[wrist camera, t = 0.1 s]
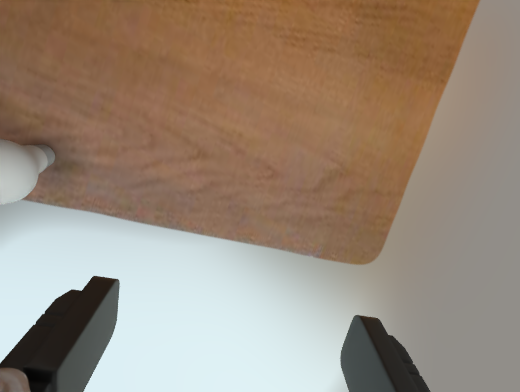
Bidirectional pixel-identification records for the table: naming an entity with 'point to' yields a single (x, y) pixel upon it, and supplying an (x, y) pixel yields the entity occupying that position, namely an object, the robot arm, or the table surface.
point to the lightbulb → (21, 168)
